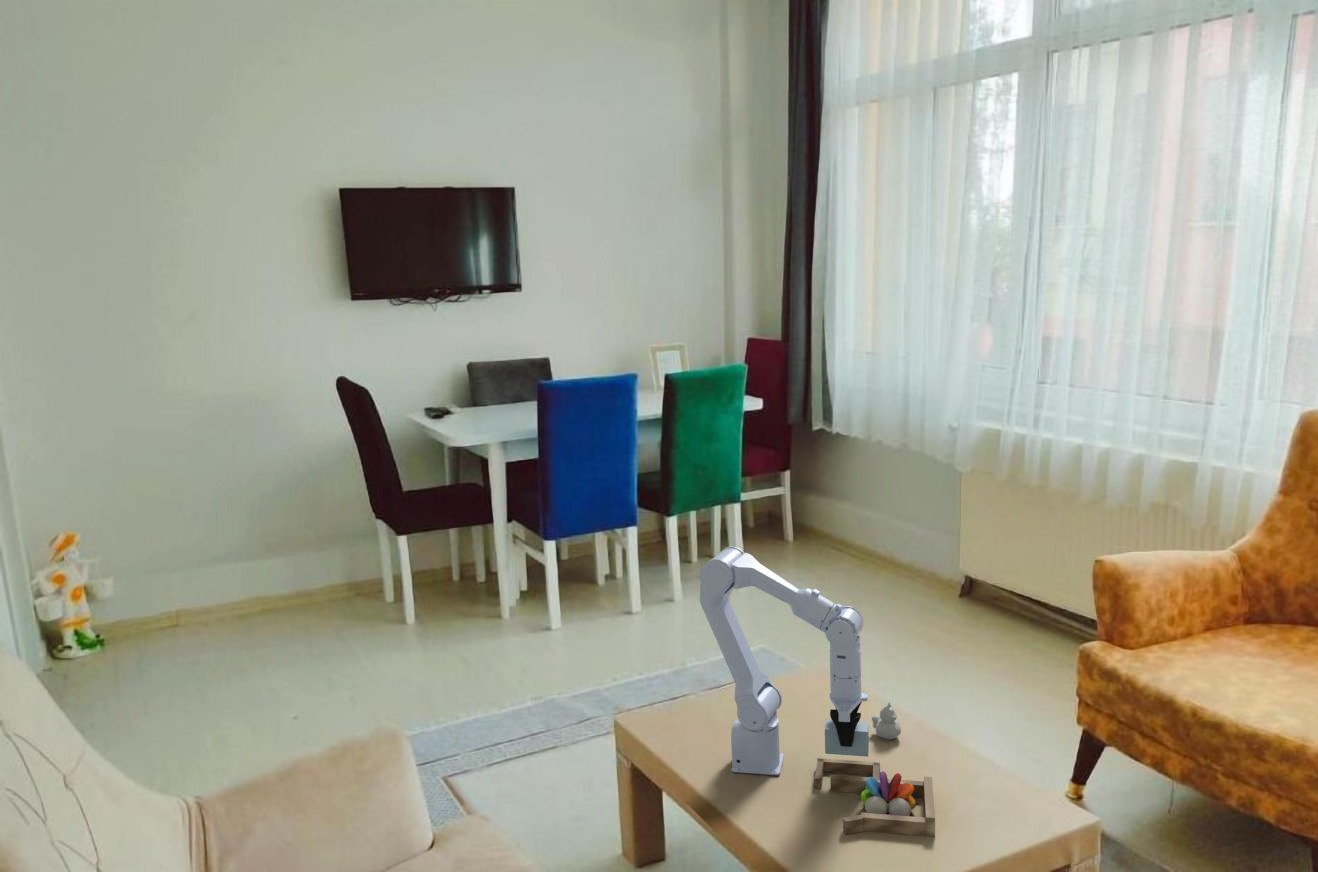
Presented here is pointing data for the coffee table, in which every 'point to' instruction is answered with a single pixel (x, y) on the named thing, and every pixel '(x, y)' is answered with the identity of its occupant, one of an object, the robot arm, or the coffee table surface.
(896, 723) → the grey figurine
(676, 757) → the coffee table surface
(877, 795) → the rainbow fan toy
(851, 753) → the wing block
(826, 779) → the coffee table surface
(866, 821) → the frame
